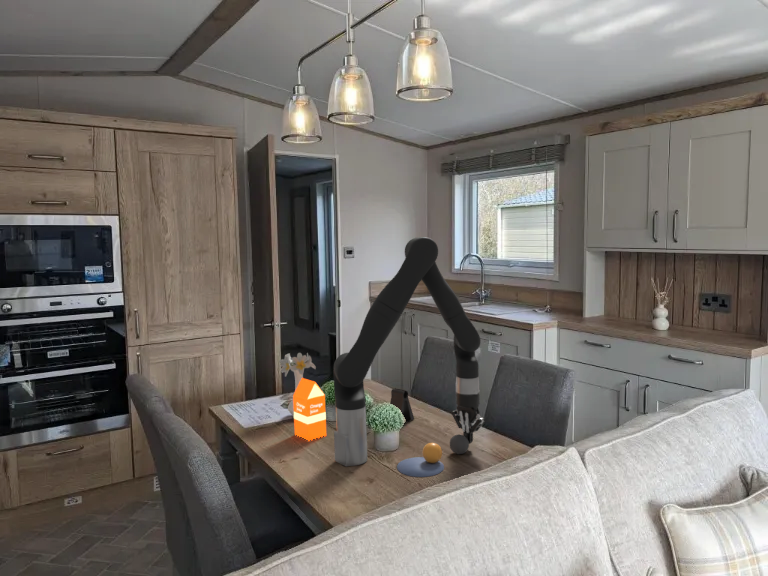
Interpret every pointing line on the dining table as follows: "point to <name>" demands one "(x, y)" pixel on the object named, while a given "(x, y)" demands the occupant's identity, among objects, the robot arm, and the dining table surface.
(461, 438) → the gray ball
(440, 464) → the blue plate
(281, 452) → the dining table surface
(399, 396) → the door stopper
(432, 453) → the orange ball
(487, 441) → the dining table surface
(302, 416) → the orange juice
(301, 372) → the flower vase
